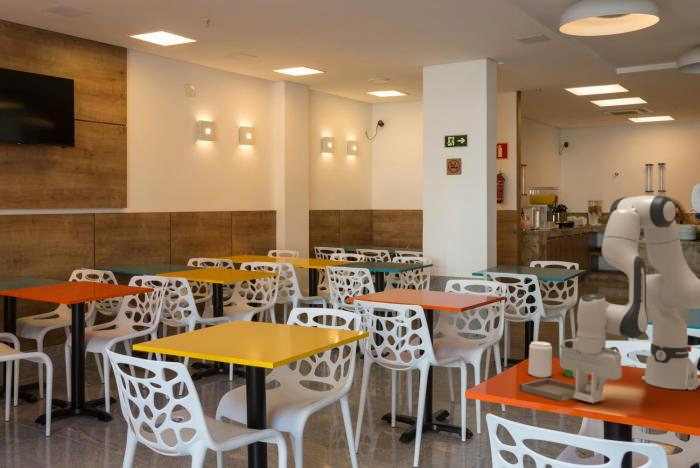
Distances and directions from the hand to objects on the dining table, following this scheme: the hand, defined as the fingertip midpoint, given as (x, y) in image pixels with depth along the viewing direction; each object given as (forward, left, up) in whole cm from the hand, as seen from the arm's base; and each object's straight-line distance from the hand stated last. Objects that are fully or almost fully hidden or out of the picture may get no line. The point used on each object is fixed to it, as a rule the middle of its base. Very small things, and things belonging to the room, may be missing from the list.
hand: (589, 387), depth 218 cm
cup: (-26, -23, -5) cm, 35 cm away
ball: (-1, 0, 0) cm, 1 cm away
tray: (0, -13, -4) cm, 14 cm away
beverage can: (-16, -30, -5) cm, 34 cm away
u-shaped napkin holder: (0, 0, -3) cm, 3 cm away
